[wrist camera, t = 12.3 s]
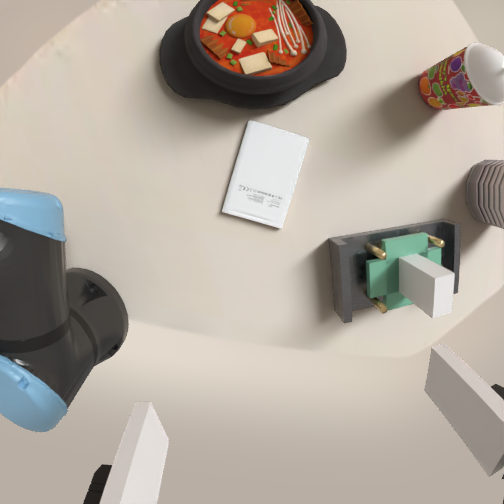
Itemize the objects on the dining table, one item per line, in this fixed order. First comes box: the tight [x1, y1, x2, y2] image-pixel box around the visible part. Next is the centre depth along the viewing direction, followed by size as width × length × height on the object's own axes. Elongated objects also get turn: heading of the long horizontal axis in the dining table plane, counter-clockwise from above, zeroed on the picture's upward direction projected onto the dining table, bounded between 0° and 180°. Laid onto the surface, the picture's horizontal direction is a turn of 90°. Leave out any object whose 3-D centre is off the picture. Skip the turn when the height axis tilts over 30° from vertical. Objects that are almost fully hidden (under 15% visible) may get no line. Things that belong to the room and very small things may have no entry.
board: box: [366, 232, 455, 318], centre depth 36 cm, size 12×10×10 cm
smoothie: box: [419, 42, 504, 110], centre depth 28 cm, size 8×8×20 cm
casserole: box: [160, 0, 347, 109], centre depth 32 cm, size 25×19×8 cm
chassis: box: [329, 219, 460, 323], centre depth 41 cm, size 20×11×6 cm, turn 99°
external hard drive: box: [222, 120, 309, 229], centre depth 40 cm, size 2×8×12 cm
